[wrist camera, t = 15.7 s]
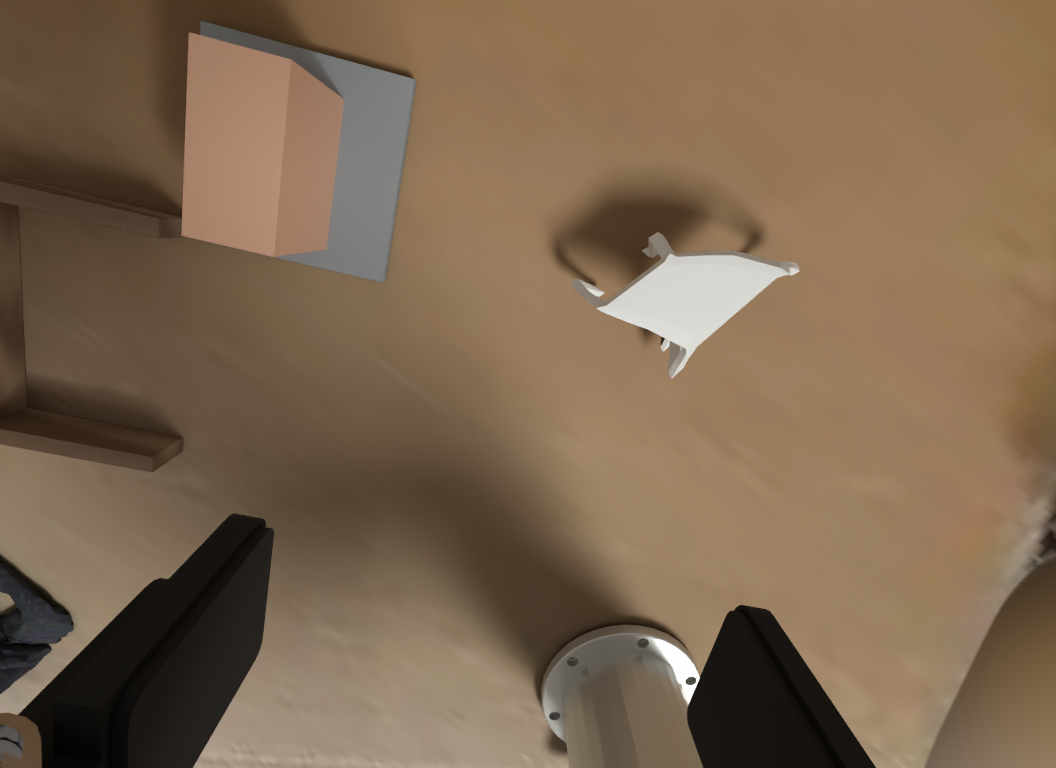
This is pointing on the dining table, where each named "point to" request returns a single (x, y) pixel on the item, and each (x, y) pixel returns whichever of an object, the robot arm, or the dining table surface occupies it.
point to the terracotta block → (257, 150)
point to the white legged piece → (687, 294)
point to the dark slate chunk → (26, 628)
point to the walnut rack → (3, 350)
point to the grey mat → (353, 154)
